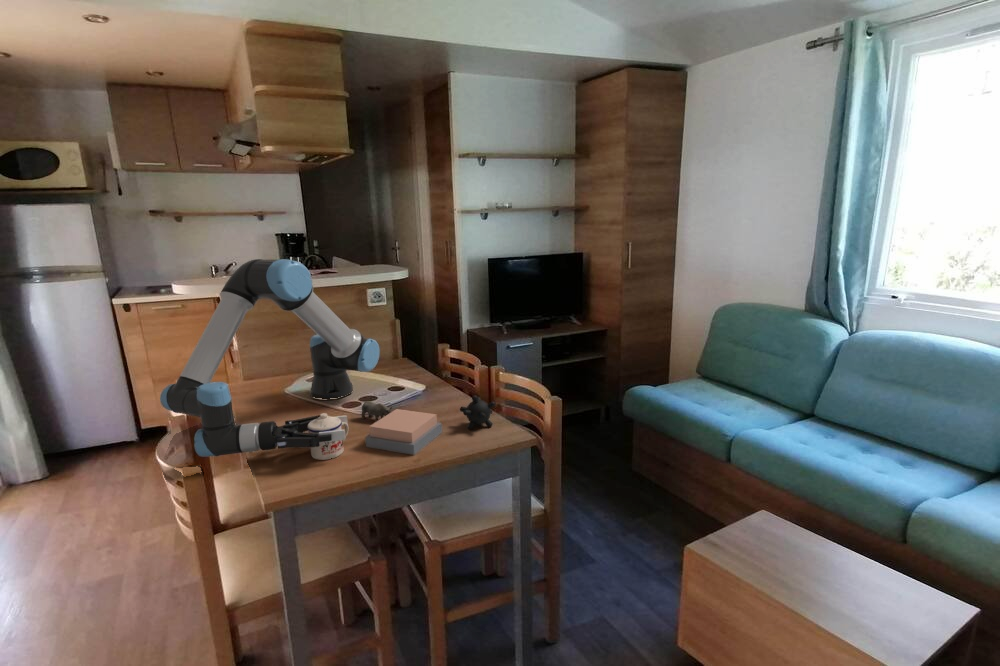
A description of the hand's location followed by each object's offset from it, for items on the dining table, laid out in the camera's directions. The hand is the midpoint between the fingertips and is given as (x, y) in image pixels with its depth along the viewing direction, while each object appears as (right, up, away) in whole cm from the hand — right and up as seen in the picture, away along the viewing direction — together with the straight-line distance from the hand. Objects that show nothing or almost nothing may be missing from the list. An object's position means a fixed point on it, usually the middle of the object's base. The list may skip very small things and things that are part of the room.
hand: (345, 427), depth 147 cm
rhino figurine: (+4, -2, +22) cm, 23 cm away
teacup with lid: (-4, -7, +1) cm, 8 cm away
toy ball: (+36, -3, +16) cm, 40 cm away
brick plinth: (+15, -5, +8) cm, 18 cm away
